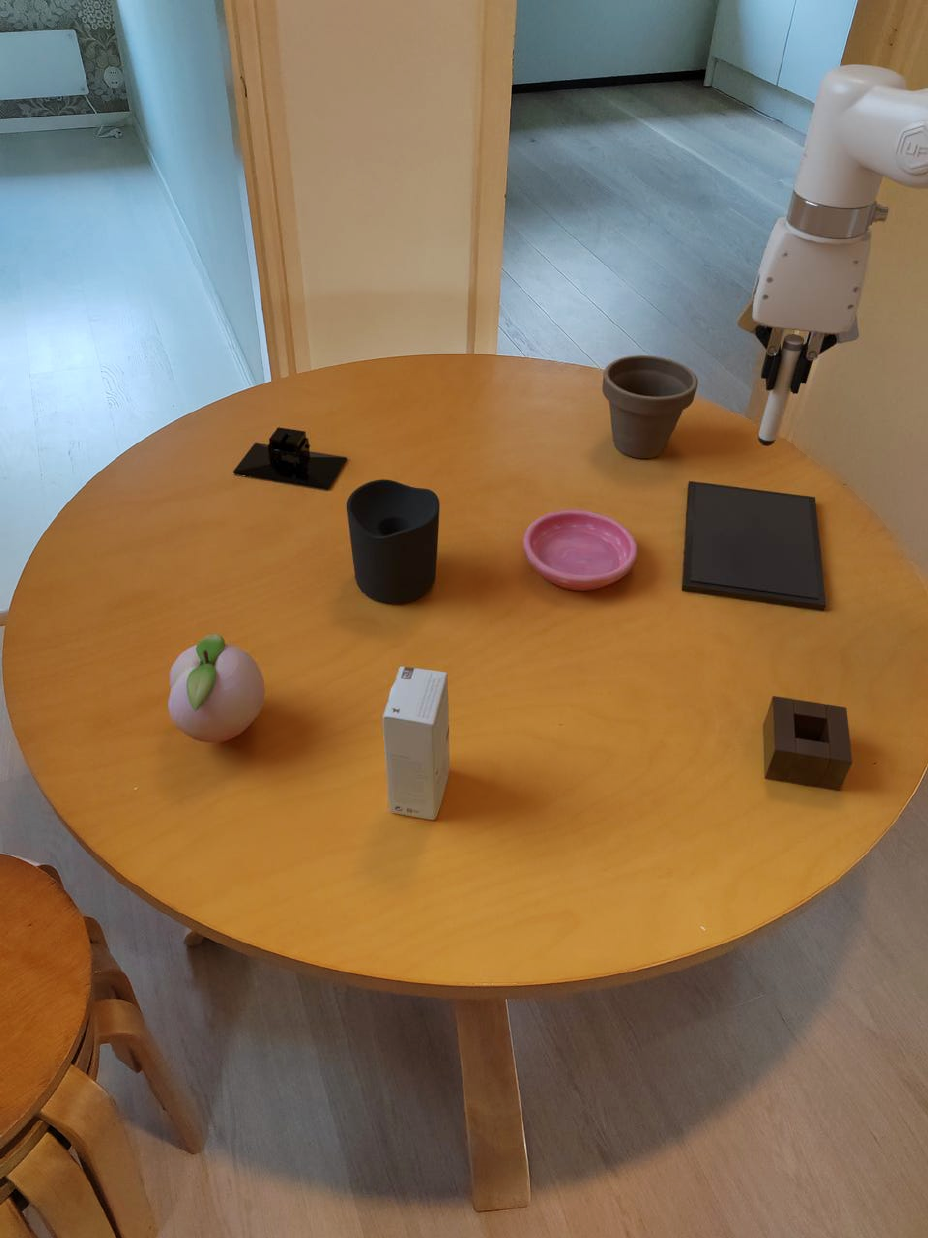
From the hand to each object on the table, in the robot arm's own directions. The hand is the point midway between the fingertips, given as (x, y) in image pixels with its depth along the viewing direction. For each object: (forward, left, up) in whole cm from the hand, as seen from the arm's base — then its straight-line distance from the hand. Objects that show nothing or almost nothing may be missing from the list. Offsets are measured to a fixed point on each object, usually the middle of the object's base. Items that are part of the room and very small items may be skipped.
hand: (781, 384), depth 107 cm
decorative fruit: (+48, +46, -17) cm, 69 cm away
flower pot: (+14, -11, -17) cm, 24 cm away
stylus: (0, 0, -8) cm, 8 cm away
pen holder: (+38, +22, -17) cm, 47 cm away
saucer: (+19, +15, -17) cm, 29 cm away
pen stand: (-4, +38, -16) cm, 42 cm away
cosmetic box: (+29, +49, -17) cm, 59 cm away
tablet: (0, +7, -16) cm, 18 cm away
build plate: (+56, +4, -17) cm, 58 cm away
